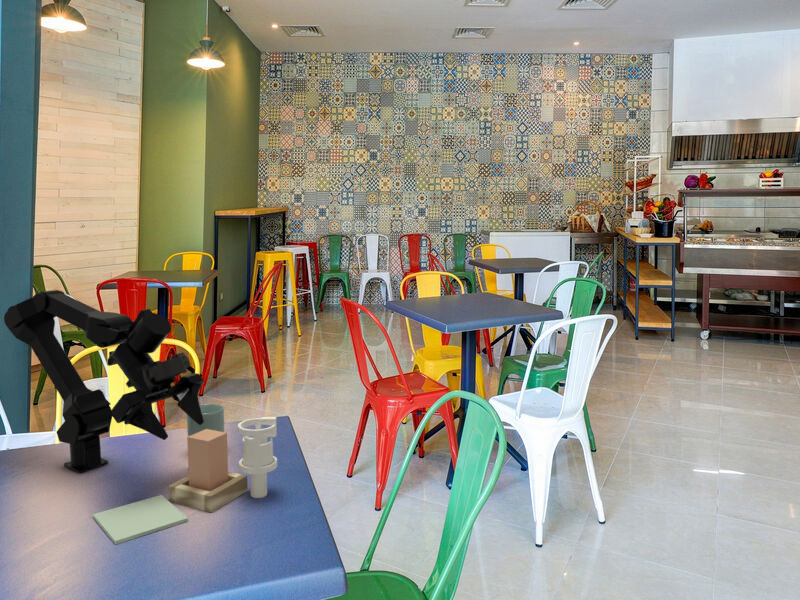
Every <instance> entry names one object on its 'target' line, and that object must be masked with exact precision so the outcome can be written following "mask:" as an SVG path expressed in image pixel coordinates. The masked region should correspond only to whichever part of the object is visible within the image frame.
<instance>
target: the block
mask: <svg viewBox="0 0 800 600" xmlns="http://www.w3.org/2000/svg"><path fill="white" fill-rule="evenodd" d="M186 438H187V463H188V464H187V466H188V476H189V486H190V487H194V488H198V489H202V490H206V491H212V490H214V489H216V488H218V487H219V486H221V485H223V484H225V483H227V482H228V472H229V464H228V462H229V459H228V458H229V457H228V433H227V432H225V431H224V432H220V431H215V430H210V429H205V430H203V431H200V432H198V433H195V434H193V435H191V436H188V435H187V436H186Z"/></svg>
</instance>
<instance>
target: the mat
mask: <svg viewBox="0 0 800 600" xmlns="http://www.w3.org/2000/svg"><path fill="white" fill-rule="evenodd" d="M92 519H93V520H94V521H95V522H96V523H97V524H98V525H99V527H100V528H101V529H102V530H103V532H104V533H105V534H106V535H107V537H108V538H109V539H110V540H111V541H112V542H113V544H114V545H118V544H122V543H125V542H127V541H130V540H134V539H137V538H140V537H144V536H146V535H149V534H152V533H156V532H159V531H162V530H165V529H168V528H170V527H171V528H172V527H174V526H178V525H181V524H183V523H187V522H189V518H188V517H187V516H186V515H185V514H184V513H183V512H182V511H181V510H180V509H178V508H177V507H176V506H175V505H174V504H172V502H170V501H169V499H167V498H166V497H165V496H164V495H162V494H160V495H156V496H152V497H148V498H145V499H142V500H138V501H135V502H132V503H127V504H125V505H121V506H118V507H114V508H110V509H107V510H104V511H99V512H97V513H94V514H92Z"/></svg>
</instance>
